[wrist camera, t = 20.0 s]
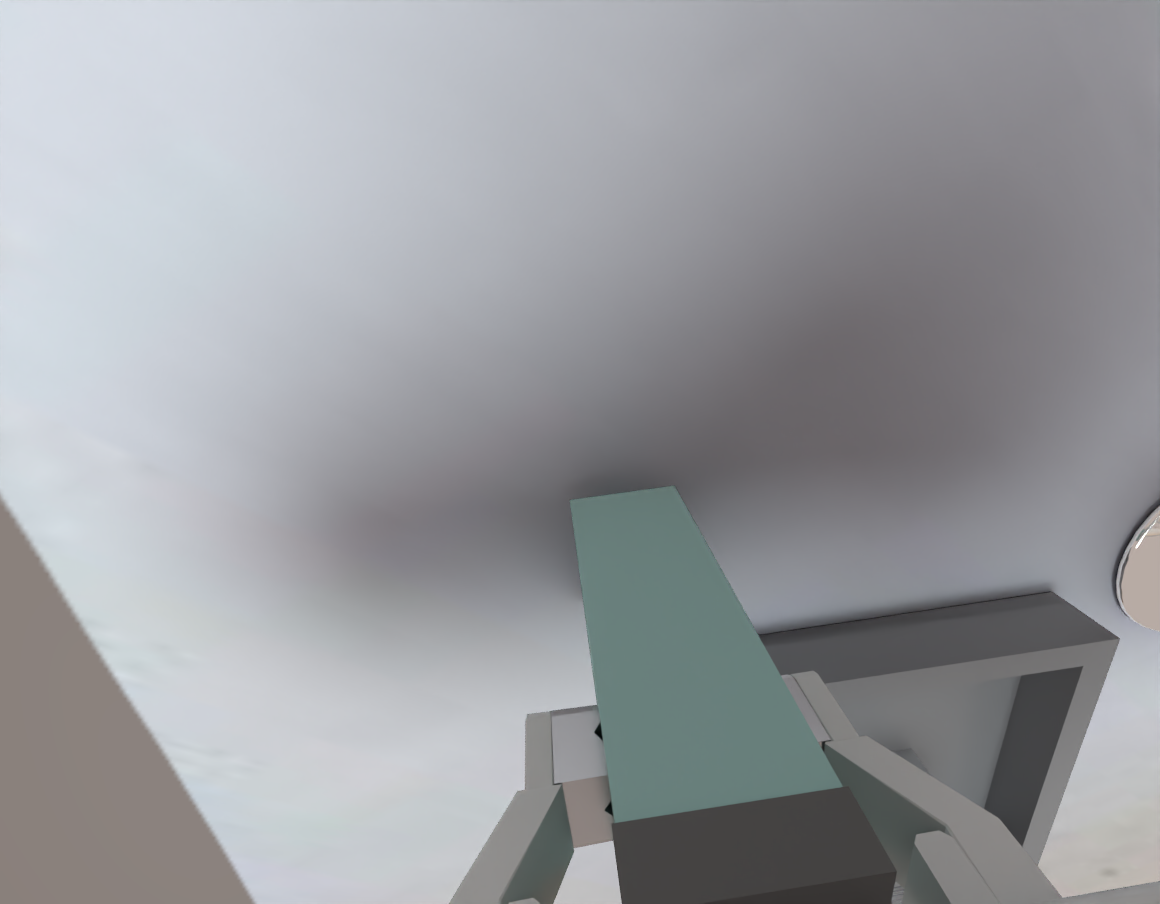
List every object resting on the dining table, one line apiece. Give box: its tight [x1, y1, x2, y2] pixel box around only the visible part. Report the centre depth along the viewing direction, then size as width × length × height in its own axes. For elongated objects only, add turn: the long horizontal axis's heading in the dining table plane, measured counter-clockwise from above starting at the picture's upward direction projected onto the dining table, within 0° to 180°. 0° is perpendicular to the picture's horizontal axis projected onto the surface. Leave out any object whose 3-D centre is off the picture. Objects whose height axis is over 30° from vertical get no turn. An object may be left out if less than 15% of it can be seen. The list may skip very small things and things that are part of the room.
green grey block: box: [570, 486, 897, 904], centre depth 12 cm, size 5×3×10 cm, turn 6°
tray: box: [759, 592, 1120, 866], centre depth 21 cm, size 14×13×2 cm
